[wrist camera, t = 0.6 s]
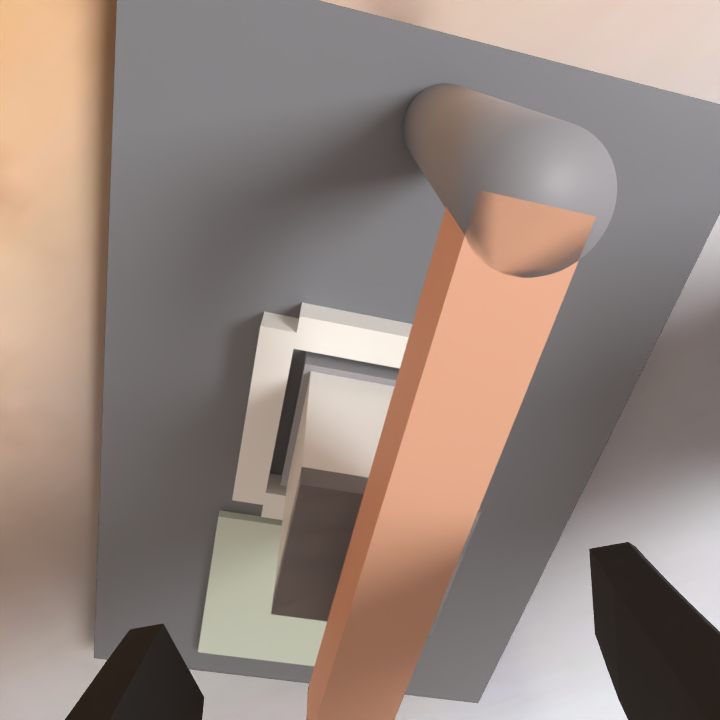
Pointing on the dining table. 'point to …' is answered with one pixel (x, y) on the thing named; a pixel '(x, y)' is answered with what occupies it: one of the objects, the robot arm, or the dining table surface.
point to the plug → (329, 478)
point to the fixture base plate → (340, 307)
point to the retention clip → (457, 373)
